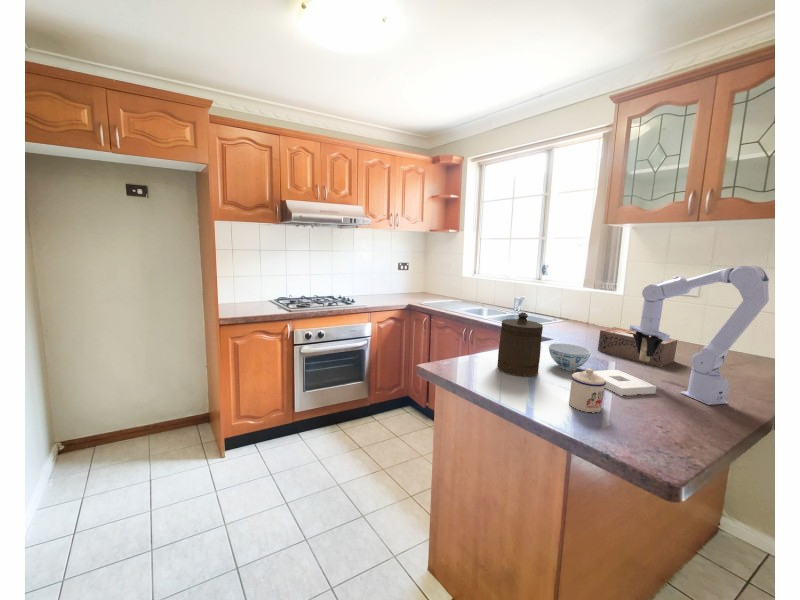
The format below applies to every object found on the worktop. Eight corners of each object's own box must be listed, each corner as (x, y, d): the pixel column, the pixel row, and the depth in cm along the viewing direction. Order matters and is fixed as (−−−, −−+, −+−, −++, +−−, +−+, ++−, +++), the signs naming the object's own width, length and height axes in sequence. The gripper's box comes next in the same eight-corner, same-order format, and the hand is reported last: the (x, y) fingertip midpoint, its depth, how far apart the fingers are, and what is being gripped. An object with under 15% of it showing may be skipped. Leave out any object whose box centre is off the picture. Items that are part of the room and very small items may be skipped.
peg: (651, 361, 135) (655, 339, 133) (644, 361, 134) (647, 340, 133) (643, 358, 138) (647, 337, 136) (636, 358, 137) (640, 337, 136)
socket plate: (655, 393, 124) (656, 386, 123) (620, 395, 120) (621, 388, 120) (616, 376, 139) (617, 369, 139) (585, 377, 136) (585, 371, 135)
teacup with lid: (589, 416, 104) (595, 376, 103) (561, 403, 112) (565, 366, 110) (614, 408, 110) (619, 370, 109) (585, 396, 118) (590, 361, 116)
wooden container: (529, 364, 148) (535, 309, 145) (544, 377, 134) (551, 317, 130) (492, 362, 148) (497, 308, 144) (503, 376, 133) (509, 316, 130)
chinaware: (597, 372, 142) (600, 353, 141) (567, 376, 137) (569, 355, 135) (566, 360, 156) (569, 342, 155) (538, 362, 150) (540, 344, 149)
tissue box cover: (597, 351, 174) (600, 330, 172) (612, 347, 182) (614, 327, 181) (660, 367, 153) (664, 344, 152) (673, 362, 162) (677, 339, 160)
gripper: (679, 322, 127) (672, 360, 130) (642, 314, 141) (637, 348, 143) (662, 322, 126) (656, 361, 128) (627, 314, 140) (622, 349, 142)
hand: (645, 354), depth 135 cm, fingers closed on peg, 3 cm apart
